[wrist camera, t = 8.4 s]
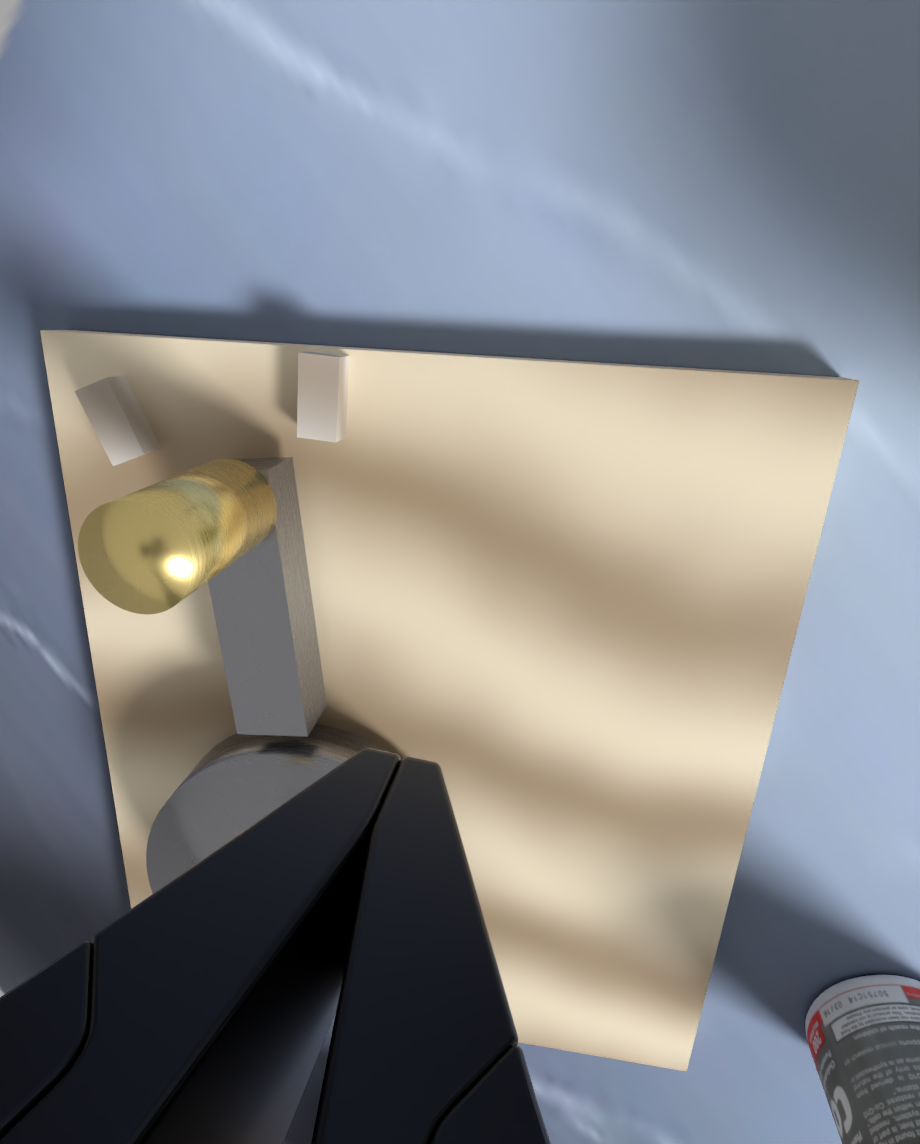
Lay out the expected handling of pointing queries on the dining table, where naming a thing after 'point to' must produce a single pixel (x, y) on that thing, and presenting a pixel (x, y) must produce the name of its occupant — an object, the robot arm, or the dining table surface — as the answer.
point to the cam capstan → (227, 638)
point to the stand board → (495, 622)
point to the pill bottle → (869, 1057)
